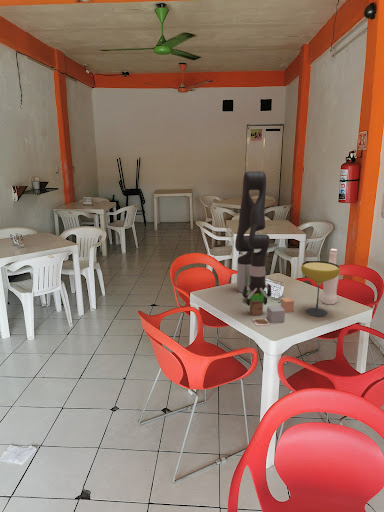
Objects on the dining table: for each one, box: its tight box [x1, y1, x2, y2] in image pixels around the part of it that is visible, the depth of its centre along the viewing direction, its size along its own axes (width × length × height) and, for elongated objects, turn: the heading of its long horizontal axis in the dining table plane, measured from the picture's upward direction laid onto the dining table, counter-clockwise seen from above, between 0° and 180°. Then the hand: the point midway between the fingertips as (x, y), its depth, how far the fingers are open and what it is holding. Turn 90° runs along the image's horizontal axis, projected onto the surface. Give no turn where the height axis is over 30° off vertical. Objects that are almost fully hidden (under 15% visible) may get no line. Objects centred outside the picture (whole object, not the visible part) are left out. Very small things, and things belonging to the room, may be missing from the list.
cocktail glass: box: [300, 260, 341, 318], centre depth 195 cm, size 18×18×25 cm
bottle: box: [320, 248, 340, 305], centre depth 208 cm, size 8×8×30 cm
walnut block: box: [249, 301, 264, 316], centre depth 197 cm, size 5×5×6 cm
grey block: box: [266, 305, 286, 324], centre depth 190 cm, size 6×6×6 cm
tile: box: [251, 317, 272, 327], centre depth 187 cm, size 7×7×1 cm
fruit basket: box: [246, 290, 267, 304], centre depth 212 cm, size 11×9×11 cm
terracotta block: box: [280, 297, 295, 314], centre depth 201 cm, size 5×5×6 cm
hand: (256, 304), depth 196 cm, fingers open, 8 cm apart
